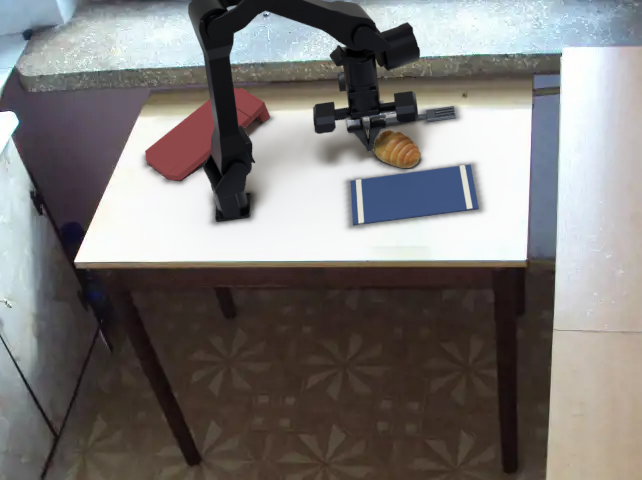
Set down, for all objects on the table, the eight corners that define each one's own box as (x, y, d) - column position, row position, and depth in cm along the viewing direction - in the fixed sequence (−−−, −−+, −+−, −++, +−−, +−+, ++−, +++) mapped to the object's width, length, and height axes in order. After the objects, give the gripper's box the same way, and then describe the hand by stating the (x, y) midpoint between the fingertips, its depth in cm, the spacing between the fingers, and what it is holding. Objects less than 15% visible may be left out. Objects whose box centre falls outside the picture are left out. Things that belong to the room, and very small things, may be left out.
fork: (455, 118, 182) (455, 115, 182) (355, 132, 184) (355, 129, 184) (453, 108, 184) (453, 105, 184) (354, 122, 186) (354, 120, 186)
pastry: (430, 157, 176) (428, 140, 173) (404, 176, 174) (402, 159, 171) (394, 138, 181) (393, 122, 178) (369, 156, 179) (367, 140, 176)
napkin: (478, 209, 165) (478, 207, 164) (353, 225, 168) (352, 223, 167) (470, 165, 172) (470, 164, 172) (350, 182, 175) (350, 180, 175)
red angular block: (182, 197, 186) (276, 120, 191) (172, 179, 182) (268, 101, 187) (149, 172, 193) (241, 98, 198) (139, 154, 189) (233, 79, 194)
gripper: (410, 45, 170) (415, 118, 182) (307, 59, 172) (319, 131, 184) (415, 80, 163) (420, 154, 175) (308, 95, 165) (320, 167, 177)
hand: (369, 150), depth 178 cm, fingers closed
